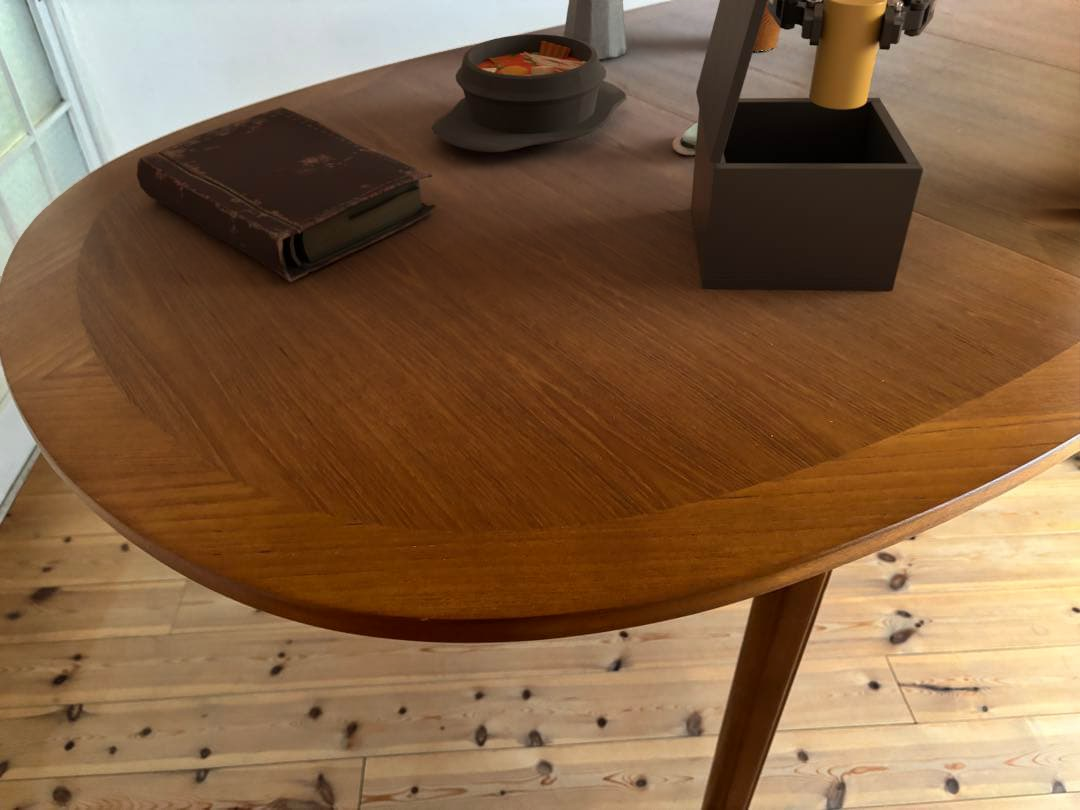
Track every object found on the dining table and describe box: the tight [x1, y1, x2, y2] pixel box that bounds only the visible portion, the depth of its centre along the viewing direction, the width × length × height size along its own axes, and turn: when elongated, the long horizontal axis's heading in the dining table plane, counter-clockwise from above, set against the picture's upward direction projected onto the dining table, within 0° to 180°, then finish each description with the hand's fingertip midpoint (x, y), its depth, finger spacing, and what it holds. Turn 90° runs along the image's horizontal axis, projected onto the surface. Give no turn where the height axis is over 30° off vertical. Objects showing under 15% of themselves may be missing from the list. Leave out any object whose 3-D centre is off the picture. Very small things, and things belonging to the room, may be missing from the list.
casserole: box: [431, 33, 627, 154], centre depth 105 cm, size 25×19×8 cm
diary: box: [136, 106, 436, 283], centre depth 91 cm, size 19×25×5 cm
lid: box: [695, 0, 768, 163], centre depth 72 cm, size 17×15×1 cm
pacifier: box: [672, 121, 698, 156], centre depth 99 cm, size 7×6×6 cm
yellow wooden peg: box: [808, 0, 887, 109], centre depth 73 cm, size 5×5×8 cm
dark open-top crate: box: [690, 97, 924, 292], centre depth 80 cm, size 16×15×11 cm
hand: (851, 34), depth 69 cm, fingers closed on yellow wooden peg, 4 cm apart
